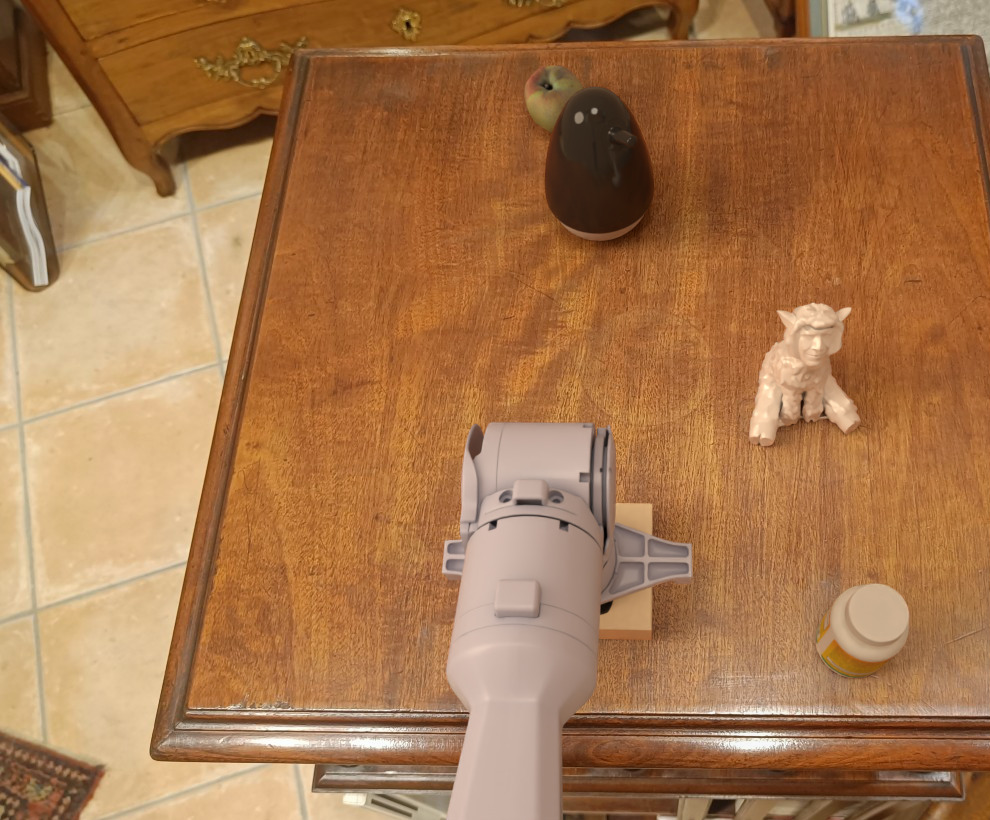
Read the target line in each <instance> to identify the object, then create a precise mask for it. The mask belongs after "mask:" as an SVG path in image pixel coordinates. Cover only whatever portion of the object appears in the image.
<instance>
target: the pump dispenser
mask: <svg viewBox="0 0 990 820" xmlns="http://www.w3.org/2000/svg"><path fill="white" fill-rule="evenodd" d="M583 88H584V89H581V90H579V91H578V92H576V93H575V94H574V95H573V96H572V97H571V98H570V99H569V100H568V101H567V102H566V104H565V105H564V107H563V108H562V110H561V112H560V114H559V116H558V118H557V120H556V123H555V125H554V128H553V131H552V133H550V138H549V142H548V147H547V151H546V158H545V165H544V166H545V167H544V194H545V200H546V204H547V206H548V208H549V210H550V212H551V213H552V214H553V216H554V218H556V220H558V221H559V223H560V224H561V225H562V226H563V227H564V229H566V230H567V231H568V232H570V233H571V234H573V235H575V236H577V237H579V238H581V239H585V240H589V241H596V242H602V241H603V242H604V241H610V240H615V239H617V238H620V237H622V236H624V235H626V234H627V233H629V232H630V231H632V230H633V229H634V228H635V227H636V226H637V225H638V224H639V223H640V222H641V220H642V219H643V217H644V216H645V214H646V213H647V211H648V210H649V209H650V206H651V205H652V202H653V199H654V195H655V175H654V169H653V165H652V160H651V156H650V152H649V149H648V146H647V143H646V139H645V138H644V135H643V132H642V129H641V127H640V126H639V122H638V121H637V119H636V117H635V115H634V113H633V112H632V110H631V109H630V107H629V105H627V103H626V102H625V101H624V100H623V99H622V98H621V97H620V96H619V95H618V94H616V93H615V92H614V91H613V90H611V89H609V88H606V87H603V86H588V87H583Z"/></svg>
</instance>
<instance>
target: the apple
mask: <svg viewBox="0 0 990 820" xmlns="http://www.w3.org/2000/svg"><path fill="white" fill-rule="evenodd" d="M584 88H585V87H584V86H583V84H582V82H581V81H580V79H579V77H578V76H577V75H576V74H575V73H574V72H573V71H571V70H570V69H569V68H567V67H565V66H564V65H560V64H556V65H555V64H554V65H553V64H552V65H550V64H549V65H542V66H541V67H538V69H536V70H535V71H534V72H533V73H532V74H531V75H530V76H529V78H528V79H527V80H526V82H525V85H524V91H523V95H524V101H525V106H526V109H527V112H528V113H529V115H530V117H531V119H532V121H534V123H535V124H536V125H537V126H539V127H541V128H542V129H544V130H545V131H547V132H548V133H550V134H552V131H553V128H554V125H555V123H556V120H557V118H558V116H559V114H560V112H561V110H562V108H563V107H564V105H565V104H566V102H567V101H568V100H569V99H570V98H571V97H572V96H573V95H574V94H575V93H576V92H578V91H579V90H581V89H584Z"/></svg>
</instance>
